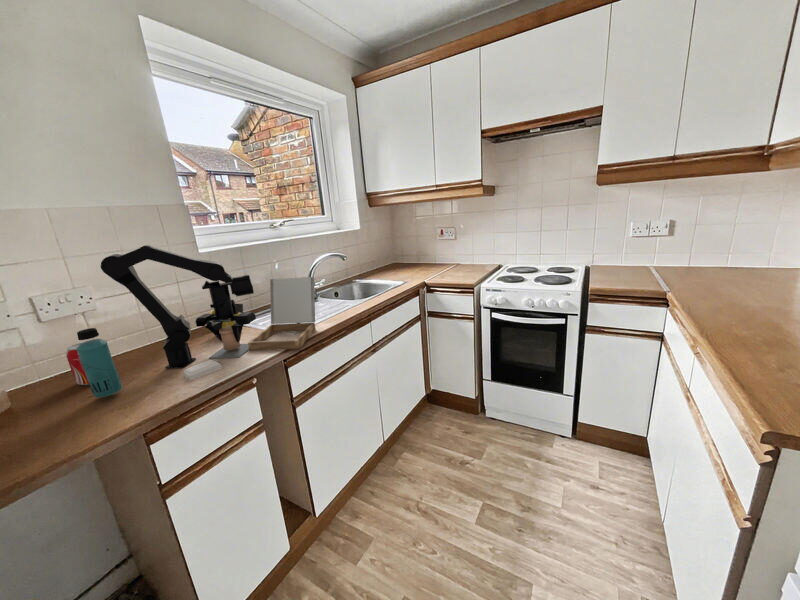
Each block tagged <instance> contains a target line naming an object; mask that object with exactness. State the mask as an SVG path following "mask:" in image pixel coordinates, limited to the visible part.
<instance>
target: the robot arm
mask: <svg viewBox="0 0 800 600" xmlns="http://www.w3.org/2000/svg"><path fill="white" fill-rule="evenodd" d="M147 260H148V261H153V262H156V263H161V264H164V265H168V266H171V267H176V268H179V269H182V270H186V271H190V272H192V273H194V274H197V275H198V276H200V277H203V278H205V279H207V280H205V282H204V284H203V285H202V286H201V289H202V290H207V289H208V292H209V295H210V299H211V303H212V304H209V305H210V308H211V309H213V310H214V312H215V314H210V313H204V314H202V315H199V316H198V317H196V319H195V325H196V327H198V328H199V327H204V328H205V329H208V331H210V332H211V333H212V334H213V335H214V336H215V337H216V338H217V339H218V340H219V341H220V342H221V343H222V344H223V342H222V338H221V334H219V330H220V329H221V328H222V323H223V322H228V321H234V323H235V324H234V325H232V326H231V327H232V330H233V333H234V336H235V339H236V341H237V342H240V341H241V337H242V330H243V327H244V326H245V325H249V324H250V323H252V322H254V321H255V320H256V319H257V316H256V313H254V312H253V311H244V304H243V303H235V300H234V299H232V297H231V295H234V296H235V297H243V296H248V295H254V292H255V291H254V288H253V287H254V286H253V283H252V280H251V278H250V274H244V275H238V276H233V277H232V275H231V274H229V273H227V271H225V268H224V265H222V264H221V263H220V262H218V261H214V260H213V261H212V260H207V259H206V260H205V259H194V258H192V257H188V256H184V255H181V254H178V253H175V252H174V253H173V252H171V251H168V250H163V249H161V248H157V247H154V246H152V245H149V244H148V245H147V244H145V245H142V246H140V247H139V248H137V249H134V250H132V251H129V252H127V253H124V254H118V253H115V254H111V255H108V256H106V257H105V258H103V259H102V260H101V262H100V266H99V267H100V269H101V271H102V272H103V273H104V274H105V275H107V276H108V277H109V278H111V279H112V280H113V281H115V282H117V283H119V284H120V285H122V286H124V287H125V288H126V289H127V290H128V291H129V292H130V293H131V294H132V295H133V296H134V297H135V298H136V300H138V301H139V303H141V304H142V306H143V307H145V309H146V310H147V311H148V312H149V313H150V314H151V315H152V316H153V317H154V318H155V319H156V320H157V321H158V322H159V324H160V325H161V327H162V329H163V331H164V333H165V335H166V336H167V337H166V338H165V340H164V343H163V347H162V349H163V350H164V352H165V356H166V360H167V363H168V364H167V365H165V369H183V368H185V367H187V366H188V365H190V364H191V363H193V362H194V361H196V360H197V357H192V353H191V349H190V346H189V344H188V341H189V339H190V338H191V331H192V330H191V323H190V321H187V320H186V319H185V317H184V315H183V314H180V315H178V316H177V315H175V314H174V313H172V312H171V311H170V310H169V309H168V308H167V306H166V305H164V303H163V302H162V301H161V300H160V299H159V298H158V297H157V296H156V295H155V294H154V293H153V291H152V290H151V289H150V288H149V287H148V286H147V285H146V284H145V283H144V281H142V280H141V278H140V277H139V275H138V272H137V270H136V269H135V267H134V266H135V265H137V264H139V263H142V262H144V261H147ZM208 280H210V281H208ZM229 286H230V289H229ZM230 291H231V293H230ZM238 312H239V313H240V314H239V315H237V316H235V314H238ZM229 318H231V319H229Z"/></svg>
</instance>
